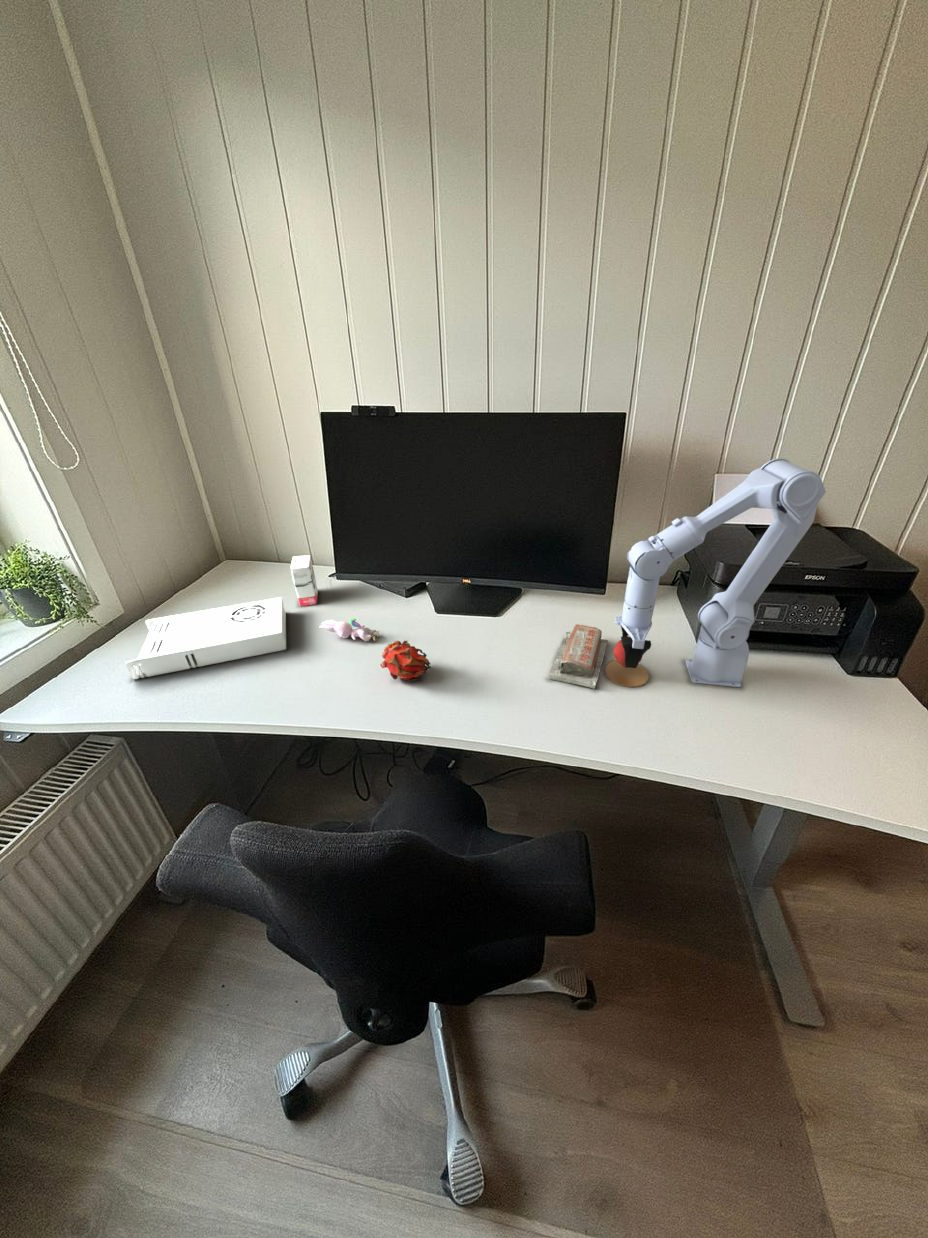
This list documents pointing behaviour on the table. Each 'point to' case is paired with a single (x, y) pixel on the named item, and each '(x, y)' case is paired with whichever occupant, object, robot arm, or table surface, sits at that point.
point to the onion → (620, 653)
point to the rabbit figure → (349, 629)
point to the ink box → (304, 580)
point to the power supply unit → (211, 637)
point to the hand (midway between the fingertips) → (629, 657)
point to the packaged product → (579, 657)
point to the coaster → (626, 675)
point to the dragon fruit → (404, 661)
